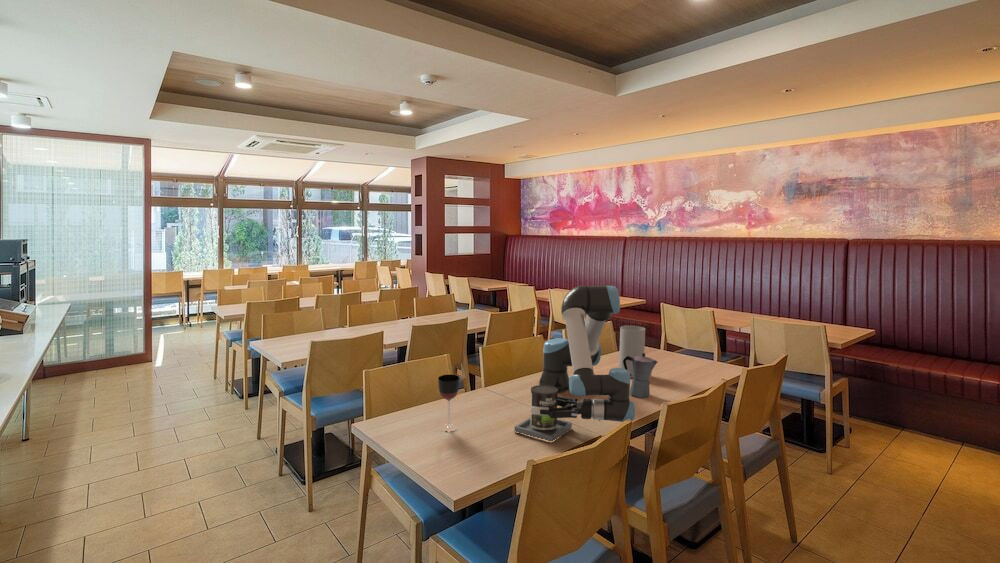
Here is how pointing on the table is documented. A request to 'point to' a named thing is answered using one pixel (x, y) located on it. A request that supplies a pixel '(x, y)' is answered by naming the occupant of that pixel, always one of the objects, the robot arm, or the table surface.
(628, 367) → the cylinder vase
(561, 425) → the slate tray
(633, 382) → the moka pot
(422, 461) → the table surface
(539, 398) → the coffee can
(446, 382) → the wineglass
